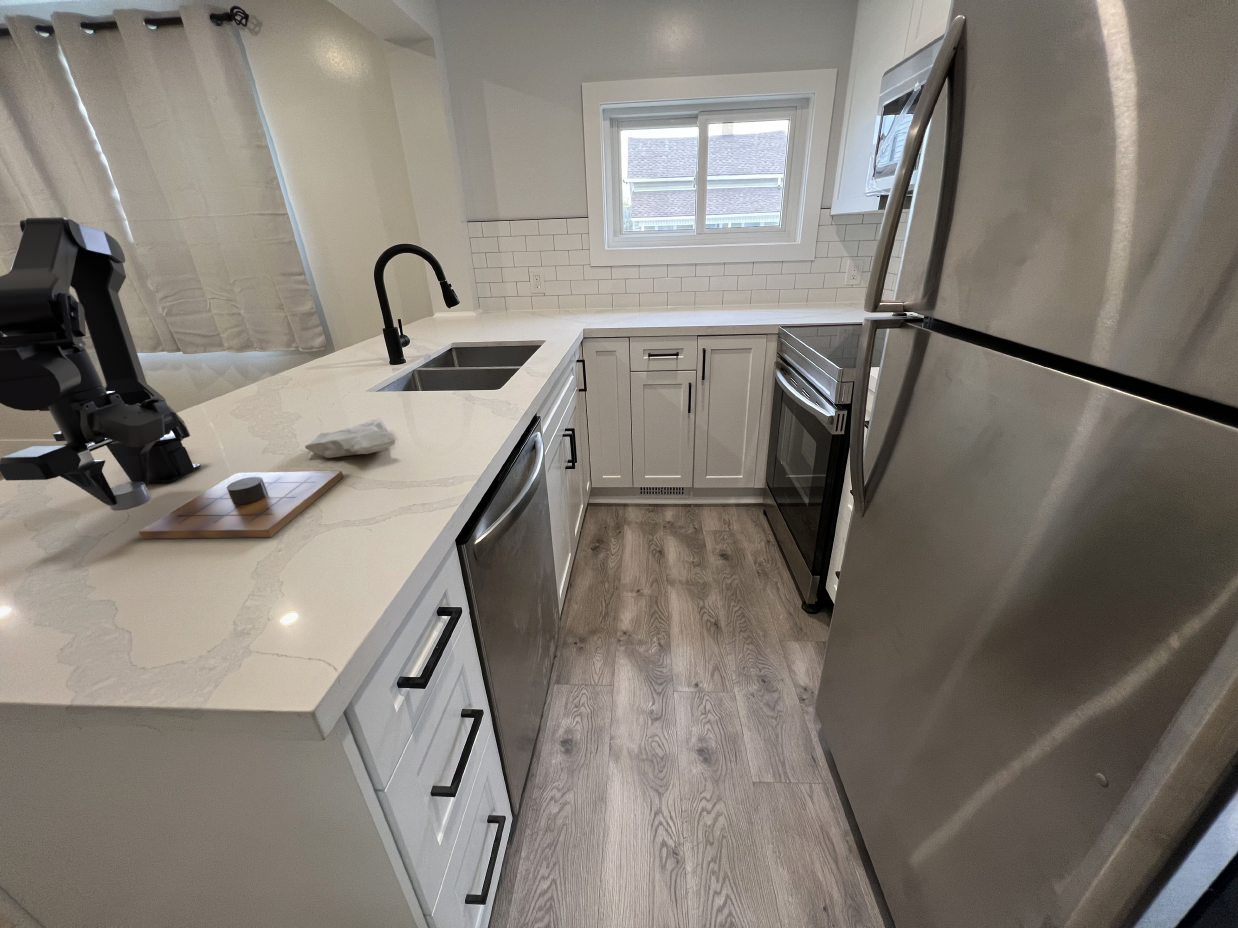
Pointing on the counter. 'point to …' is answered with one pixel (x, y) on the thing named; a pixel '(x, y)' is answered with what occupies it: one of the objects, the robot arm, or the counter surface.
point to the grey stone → (130, 495)
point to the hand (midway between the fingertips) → (128, 496)
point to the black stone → (247, 490)
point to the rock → (353, 440)
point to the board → (244, 507)
